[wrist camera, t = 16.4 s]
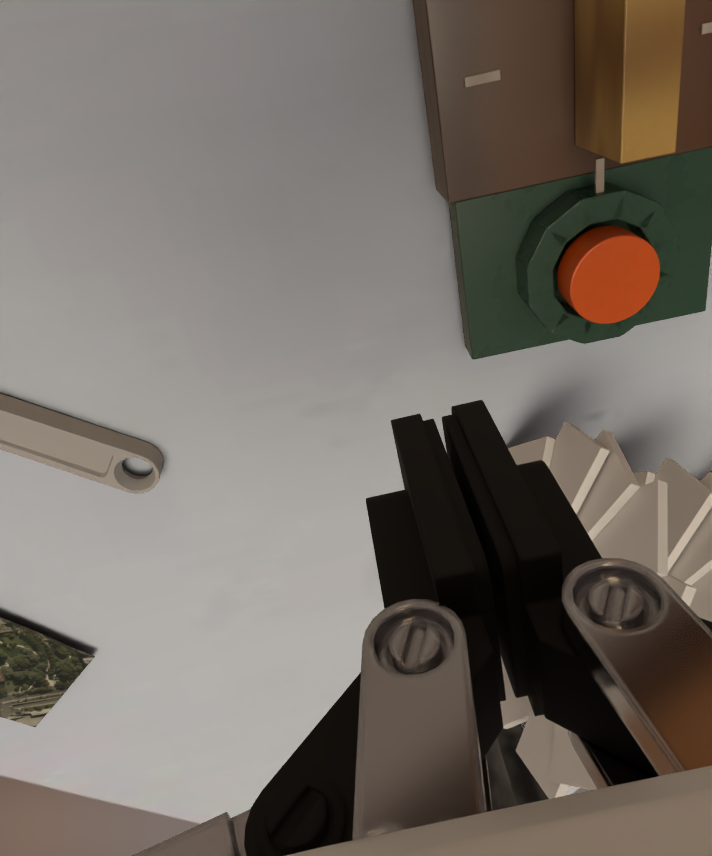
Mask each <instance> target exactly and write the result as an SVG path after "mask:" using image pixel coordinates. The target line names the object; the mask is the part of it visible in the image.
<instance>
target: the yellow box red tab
mask: <svg viewBox="0 0 712 856" xmlns="http://www.w3.org/2000/svg"><path fill="white" fill-rule="evenodd" d="M685 4H686V0H574V7H575V144H576V146H579V147H581V148H584V149H586V150H588V151H591V152H593V153H596V154H598V155H601V156H603V157H606V158H608V159H611V160H613V161H615V162H618V163H620V164H623V163H628V162H633V161H637V160H642V159H647V158H652V157H657V156H661V155H666V154H671V153H674V152H675V151H676V137H677V122H678V107H679V93H680V78H681V63H682V49H683V34H684V19H685Z"/></svg>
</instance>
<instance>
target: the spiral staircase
mask: <svg viewBox="0 0 712 856" xmlns="http://www.w3.org/2000/svg"><path fill="white" fill-rule="evenodd" d="M508 450H509V452H510V453H511V455H512V457H513V459H514V461H515V463H516V465H520V464H524V463H529V462H533V461H538V460H542V461H544V462H545V463H546V465H547V466H548V468H549V469H550V471H551V473H552V474H553V476H554V478H555V479H556V481H557V483H558V484H559V486H560V488H561V489H562V491H563V493H564V494H565V496H566V498H567V500H568V501H569V503H570V505H571V506H572V508H573V510H574V511H575V513H576V515H577V516H578V518H579V520H580V521H581V523H582V525H583V527H584V528H585V530H586V532H587V533H588V535H589V537H590V538H591V540H592V542H593V543H594V545H595V547H596V548H597V550H598V552H599V553H600V555H601V557H602V558H621V559H625V560H629V561H634V562H637V563H639V564H641V565H643V566H646V567H648V568H650V569H652V570H653V571H654V572H655V573H657V574H658V575H659V576H660V577H661V578H663V579H664V580H665V581H666V582H667V583H668V585H669V586H670V587H671V588H672V589H673V590H674V591H675V592H676V593H677V594H678V595H679V596H680V598H681V599H682V600H683V601H684V602H685V603H686V604H687V605H688V606H689V607H690V608H691V609H692V610H693V612H694V613H695V614H696V615H697V616H698V617H700V618H702V619H705V620H708V621H711V622H712V473H711V472H709V473H708V474H707V475H706V476H705V477H704V478H703V479H702V480H701V481H698V480H697V479H696V478H695V477H693V476H692V475H691V474H690V473H688V472H687V471H686V470H685V469H683V468H682V467H681V466H679V465H678V464H677V463H676V462H674V461H673V460H670V459H667V458H666V459H665V461H664V462H663V464H662V466H661V467H660V469H659V470H658V472H657V474H656V475H655V474H654V473H651V472H648V471H646V472H632V470H631V468H630V466H629V464H628V462H627V460H626V458H625V456H624V455H623V453H622V451H621V449H620V447H619V445H618V443H617V441H616V439H615V437H614V435H613V434H612V432H609V431H607V430H603V431H602V432H601V433H600V435H599V436H598V437H597V438H596V440H594V439H592V438H591V437H589V436H588V435H587V434H585V433H584V432H582V431H581V430H580V429H578V428H577V427H575V426H574V425H572V424H570V423H567V422H564V424H563V426H562V428H561V430H560V432H559V434H558V436H557V438H556V440H555V439H554V438H551V437H548V436H546V437H543V438H540V439H536V440H533V441H530V442H527V443H523V444H520V445H517V446H513V447H510V448H508ZM501 662H502V670H503V678H504V686H505V694H506V700H505V701H501V702H500V704H501V712H502V719H503V728H505V729H509V728H511V727H514V726H516V725H518V724H521V723H523V722H526V721H527V722H526V725H525V728H524V730H523V733H522V735H521V738H520V740H519V743H518V745H517V748H516V752H517V754H518V755H519V756H520V758H521V759H522V761H523V762H524V764H525V765H526V767H527V768H528V769H529V771H530V772H531V774H532V775H533V777H534V778H535V780H536V781H537V782H538V784H539V785H540V787H541V788H542V790H543V791H544V793H545V794H546V795H547V797H548V798H549V799H552V798H557V797H561V796H566V793H567V791H568V788H569V786H575V787H580V788H585V789H590V790H595V789H597V788H596V786H595V784H594V782H593V781H592V779H591V777H590V776H589V774H588V772H587V770H586V769H585V767H584V765H583V763H582V762H581V760H580V758H579V756H578V755H577V753H576V751H575V750H574V748H573V746H572V743H571V741H570V738H569V735H568V730H567V729H565V728H563V727H561V726H559V725H557V724H555V723H553V722H552V721H550V720H548V719H546V718H545V716H544V715H539V716H535V715H534V712H533V710H532V707H531V704H530V701H529V699H528V696H524V697H520V698H516V697H515V695H514V692H513V689H512V687H511V684H510V681H509V678H508V675H507V672H506V669H505V666H504V663H503V660H502V657H501Z"/></svg>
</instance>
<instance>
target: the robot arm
mask: <svg viewBox="0 0 712 856" xmlns="http://www.w3.org/2000/svg"><path fill="white" fill-rule="evenodd" d="M442 423H443V430H444V436H445V443H446V449H447V453H446V450H445V448H444V445H443V442H442V440H441V437H440V435H439V432H438V429H437V427H436V424H435V421H434V419H430V420H426V421H423V420H422V417H421V415H420V414H416V415H412V416H407V417H403V418H398V419H394V420H391V424H392V429H393V434H394V439H395V444H396V448H397V453H398V458H399V463H400V468H401V473H402V478H403V483H404V487H405V490H402V491H397V492H393V493H388V494H384V495H379V496H375V497H370V498H366V504H367V510H368V516H369V521H370V527H371V533H372V539H373V544H374V550H375V556H376V562H377V568H378V573H379V579H380V585H381V591H382V596H383V602H384V608H385V609H384V610H382V611H381V612H380V613H379V614H378V615H377V616H376V617H375V618H373V620H372V621H371V623H370V624H369V626H368V628H367V629H366V631H365V635H364V639H363V644H362V663H361V673H360V674H359V675H358V676H357V678H356V679H355V680H354V681H353V682H352V684H351V685H350V686H349V687H348V688H347V690H346V691H345V692H344V693H343V694H342V696H341V697H340V698H339V699H338V700H337V702H336V703H335V704H334V705H333V706H332V708H331V709H330V710H329V711H328V712H327V714H326V715H325V716H324V717H323V718H322V720H321V721H320V722H319V723H318V724H317V726H316V727H315V728H314V729H313V730H312V732H311V733H310V734H309V735H308V736H307V738H306V739H305V740H304V741H303V742H302V744H301V745H300V746H299V747H298V748H297V750H296V751H295V752H294V753H293V754H292V756H291V757H290V758H289V759H288V760H287V762H286V763H285V764H284V765H283V766H282V768H281V769H280V770H279V771H278V772H277V774H276V775H275V776H274V777H273V778H272V780H271V781H270V782H269V783H268V784H267V786H266V787H265V788H264V789H263V790H262V792H261V793H260V795H259V796H258V798H257V800H256V801H255V803H254V804H253V806H252V807H251V809H250V810H248V811H246V812H244V813H241V814H239V815H237V816H235V817H233V818H230V816H229V815H228V813H227V812H226V813H223V814H221V815H219V816H217V817H215V818H213V819H210V820H208V821H206V822H204V823H202V824H200V825H197V826H195V827H193V828H191V829H189V830H187V831H184V832H182V833H180V834H178V835H176V836H174V837H172V838H169V839H167V840H165V841H163V842H161V843H158V844H156V845H154V846H152V847H150V848H148V849H145V850H143V851H141V852H139V853H137V854H135V855H132V856H712V622H711V621H708V620H705V619H702V618H700V617H698V616H697V615H696V614H695V613H694V612H693V610H692V609H691V608H690V607H689V606H688V605H687V604H686V603H685V602H684V601H683V600H682V599H681V598H680V596H679V595H678V594H677V593H676V592H675V591H674V590H673V589H672V588H671V587H670V586H669V585H668V583H667V582H666V581H665V580H664V579H663V578H661V577H660V576H659V575H658V574H657V573H655V572H654V571H653V570H652V569H650V568H648V567H646V566H643V565H641V564H639V563H637V562H634V561H629V560H625V559H621V558H602V557H601V555H600V553H599V552H598V550H597V548H596V547H595V545H594V543H593V542H592V540H591V538H590V537H589V535H588V533H587V532H586V530H585V528H584V527H583V525H582V523H581V521H580V520H579V518H578V516H577V515H576V513H575V511H574V510H573V508H572V506H571V505H570V503H569V501H568V500H567V498H566V496H565V494H564V493H563V491H562V489H561V488H560V486H559V484H558V483H557V481H556V479H555V478H554V476H553V474H552V473H551V471H550V469H549V468H548V466H547V465H546V463H545V462H544V461H542V460H538V461H533V462H529V463H524V464H520V465H516V463H515V461H514V459H513V457H512V455H511V453H510V452H509V450H508V448H507V446H506V444H505V442H504V440H503V438H502V436H501V434H500V433H499V431H498V429H497V427H496V425H495V423H494V421H493V419H492V417H491V415H490V413H489V412H488V410H487V408H486V406H485V404H484V402H483V401H482V400H479V401H474V402H470V403H465V404H461V405H457V406H452V415H448V416H444V417H442ZM501 657H502V660H503V663H504V666H505V669H506V672H507V675H508V678H509V681H510V684H511V687H512V689H513V692H514V695H515V697H516V698H520V697H524V696H528V699H529V701H530V704H531V707H532V710H533V712H534V715H535V716H539V715H544V716H545V718H546V719H548V720H550V721H552V722H553V723H555V724H557V725H559V726H561V727H563V728H565V729H567V730H568V735H569V738H570V741H571V743H572V746H573V748H574V750H575V751H576V753H577V755H578V756H579V758H580V760H581V762H582V763H583V765H584V767H585V769H586V770H587V772H588V774H589V776H590V777H591V779H592V781H593V782H594V784H595V786H596V788H597V789H595V790H590V791H585V792H581V793H576V794H571V795H566V796H561V797H557V798H552V799H547V800H542V801H537V802H532V803H528V804H523V805H518V806H513V807H508V808H503V809H499V810H494V811H493V807H492V799H491V790H490V782H489V773H488V765H487V759H486V754H487V753H488V751H489V749H490V748H491V746H492V745H493V743H494V741H495V740H496V738H497V737H498V735H499V733H500V732H501V730H502V729H503V719H502V712H501V704H500V702H501V701H505V700H506V694H505V686H504V678H503V670H502V662H501Z"/></svg>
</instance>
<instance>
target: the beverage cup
mask: <svg viewBox="0 0 712 856" xmlns="http://www.w3.org/2000/svg"><path fill="white" fill-rule="evenodd" d="M522 733H523V729H522V727H521V725H520V724H518V725H516V726H514V727H511V728H509V729H505V728H503V729H502V730H501V732H500V733H499V735H498V737H497V738H496V740H495V741H494V743H493V745H492V746H491V748H490V749H489V751H488V753H487V754H486V759H487V765H488V773H489V782H490V790H491V799H492V807H493V811H494V810H499V809H503V808H508V807H513V806H518V805H523V804H528V803H532V802H537V801H542V800H547V799H549V798H548V797H547V795H546V794H545V793H544V791H543V790H542V788H541V787H540V785H539V784H538V782H537V781H536V780H535V778H534V777H533V775H532V774H531V772H530V771H529V769H528V768H527V767H526V765H525V764H524V762H523V761H522V759H521V758H520V756H519V755H518V754H517V752H516V748H517V745H518V743H519V740H520V738H521V735H522Z"/></svg>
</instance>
